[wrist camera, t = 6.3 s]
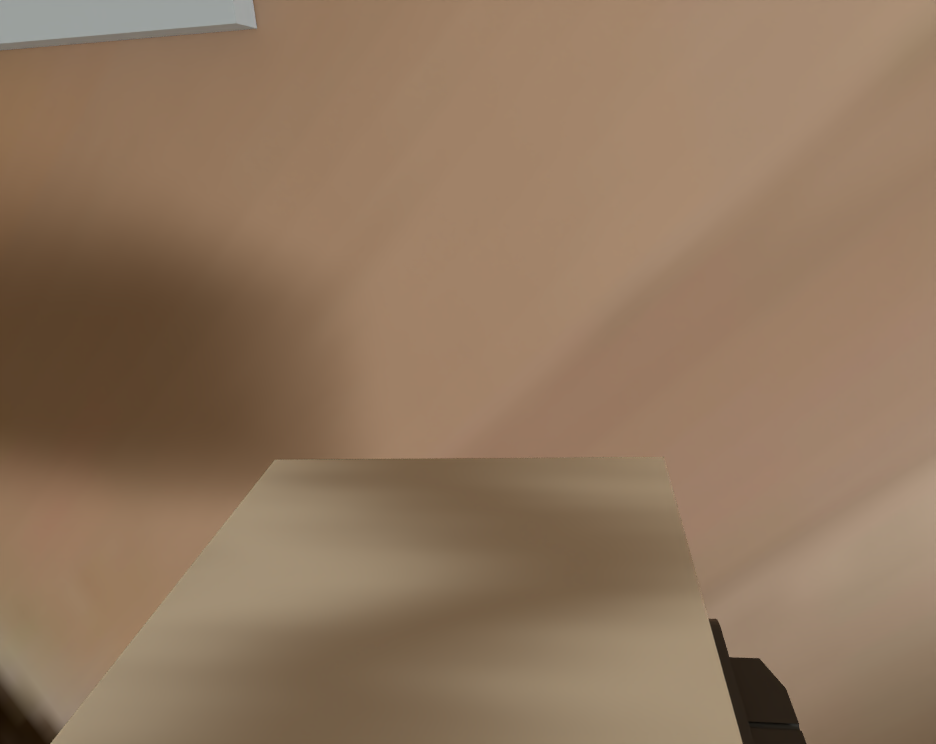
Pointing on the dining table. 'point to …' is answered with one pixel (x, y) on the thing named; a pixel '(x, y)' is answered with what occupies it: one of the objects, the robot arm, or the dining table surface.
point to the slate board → (115, 20)
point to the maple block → (430, 614)
